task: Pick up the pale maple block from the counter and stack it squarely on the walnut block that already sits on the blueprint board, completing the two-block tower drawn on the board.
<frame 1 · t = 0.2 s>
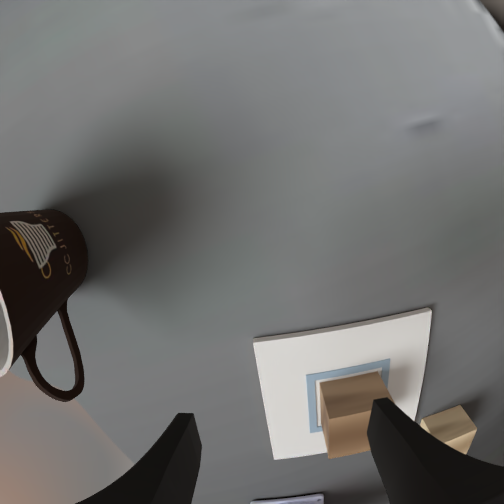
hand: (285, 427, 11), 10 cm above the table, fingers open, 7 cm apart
coffee mug: (60, 271, 21), on the table
maple block: (436, 426, 24), on the table
blueprint board: (346, 394, 23), on the table
walnut block: (348, 398, 22), point 1 cm above the table, touching blueprint board
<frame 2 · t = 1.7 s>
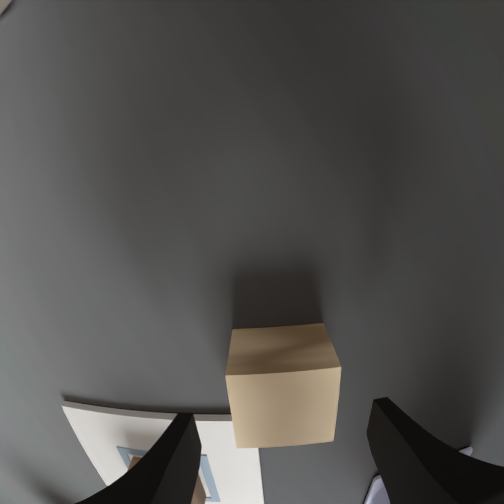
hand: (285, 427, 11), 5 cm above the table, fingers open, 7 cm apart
maple block: (279, 363, 16), on the table
blueprint board: (172, 472, 19), on the table
walnut block: (170, 477, 18), point 1 cm above the table, touching blueprint board
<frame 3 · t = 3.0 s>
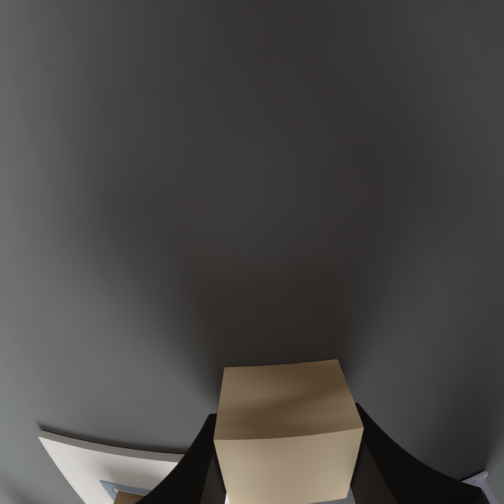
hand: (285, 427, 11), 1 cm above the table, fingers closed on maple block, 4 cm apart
maple block: (282, 405, 13), on the table, touching gripper
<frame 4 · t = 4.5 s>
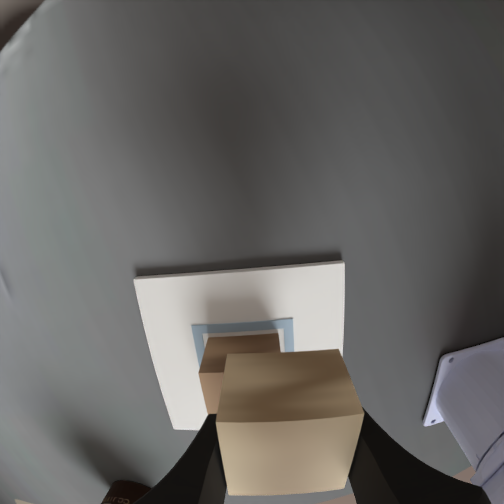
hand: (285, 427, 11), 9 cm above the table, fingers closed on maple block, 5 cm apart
coffee mug: (150, 495, 27), on the table
maple block: (283, 394, 13), point 8 cm above the table, touching gripper
blueprint board: (246, 359, 21), on the table
walnut block: (246, 364, 20), point 1 cm above the table, touching blueprint board
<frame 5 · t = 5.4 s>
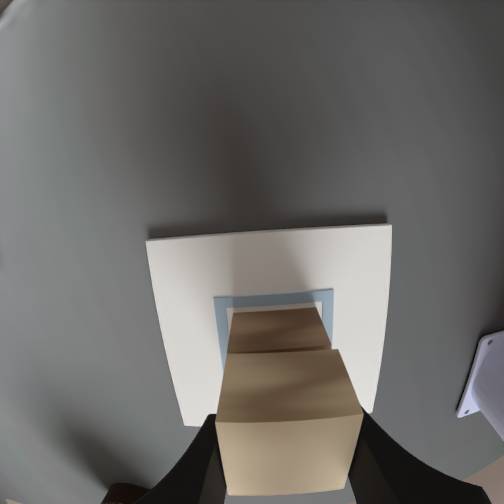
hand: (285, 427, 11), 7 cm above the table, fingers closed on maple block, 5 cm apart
coffee mug: (152, 499, 24), on the table
maple block: (282, 394, 13), point 5 cm above the table, touching gripper
blueprint board: (275, 340, 18), on the table
walnut block: (276, 345, 18), point 1 cm above the table, touching blueprint board
when the fingers open (7 cm above the table, at t = 6.0 s): maple block stays where it is, resting on walnut block.
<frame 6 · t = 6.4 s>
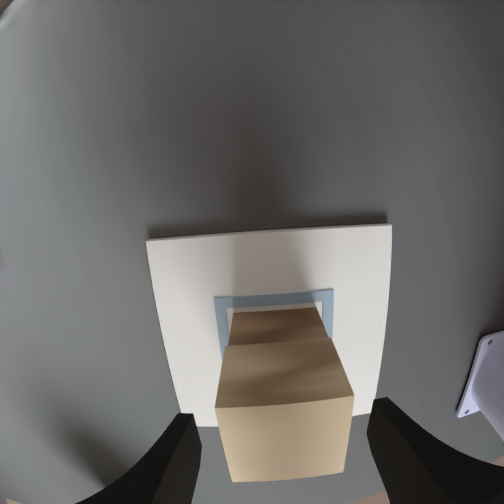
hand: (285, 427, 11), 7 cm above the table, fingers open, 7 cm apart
maple block: (280, 383, 14), point 5 cm above the table, touching walnut block
blueprint board: (276, 340, 18), on the table
walnut block: (276, 345, 18), point 1 cm above the table, touching blueprint board, maple block
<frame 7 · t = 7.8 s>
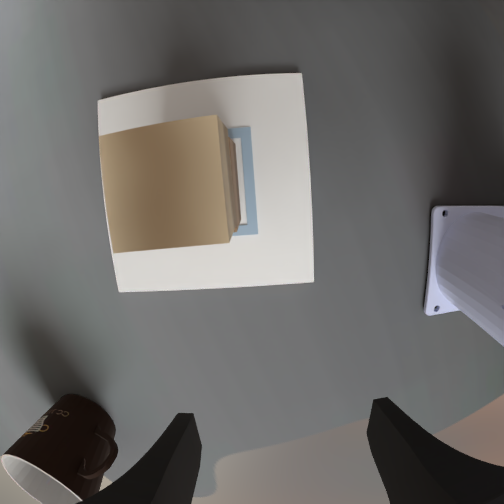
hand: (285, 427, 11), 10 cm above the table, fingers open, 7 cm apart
coffee mug: (99, 419, 25), on the table
maple block: (184, 181, 15), point 5 cm above the table, touching walnut block
blueprint board: (202, 184, 19), on the table
walnut block: (200, 185, 19), point 1 cm above the table, touching blueprint board, maple block
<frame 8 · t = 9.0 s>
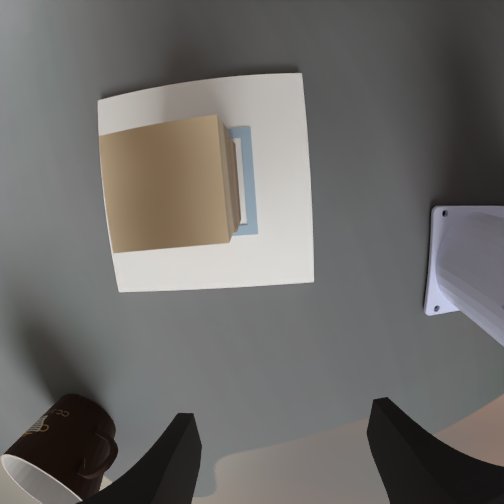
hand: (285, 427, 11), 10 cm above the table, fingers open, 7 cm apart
coffee mug: (99, 419, 25), on the table
maple block: (184, 181, 15), point 5 cm above the table, touching walnut block
blueprint board: (202, 184, 19), on the table
walnut block: (200, 184, 19), point 1 cm above the table, touching blueprint board, maple block
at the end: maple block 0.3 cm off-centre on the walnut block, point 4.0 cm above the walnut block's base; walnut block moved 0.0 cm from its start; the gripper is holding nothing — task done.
